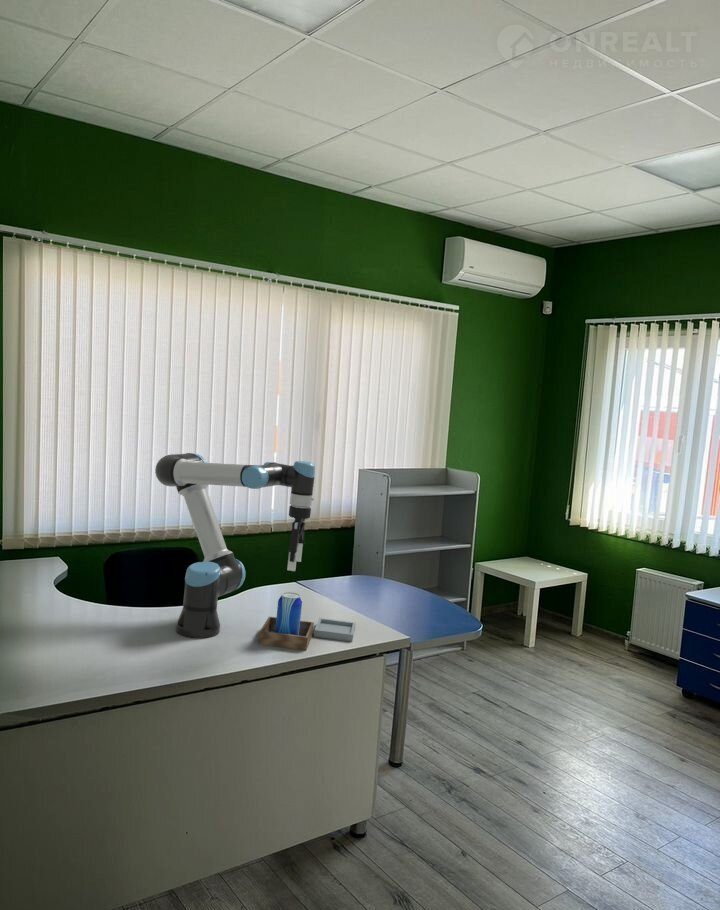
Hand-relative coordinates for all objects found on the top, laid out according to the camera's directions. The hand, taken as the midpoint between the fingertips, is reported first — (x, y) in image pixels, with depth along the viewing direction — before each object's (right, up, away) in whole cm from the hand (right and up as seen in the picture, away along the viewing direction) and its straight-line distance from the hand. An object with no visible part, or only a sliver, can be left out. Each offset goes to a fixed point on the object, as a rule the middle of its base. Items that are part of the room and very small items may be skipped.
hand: (294, 565), depth 252 cm
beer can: (-3, -26, +2) cm, 27 cm away
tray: (+14, -27, +14) cm, 33 cm away
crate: (-3, -26, +2) cm, 26 cm away
